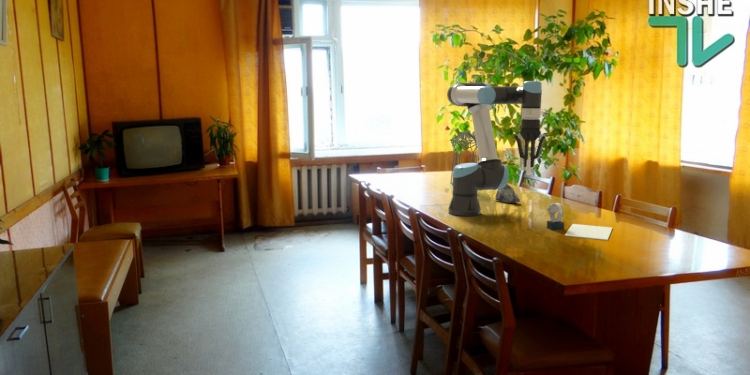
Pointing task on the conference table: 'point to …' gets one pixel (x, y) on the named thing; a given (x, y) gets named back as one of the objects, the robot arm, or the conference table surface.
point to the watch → (556, 222)
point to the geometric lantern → (463, 146)
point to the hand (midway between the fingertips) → (528, 174)
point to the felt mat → (589, 232)
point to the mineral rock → (507, 195)
